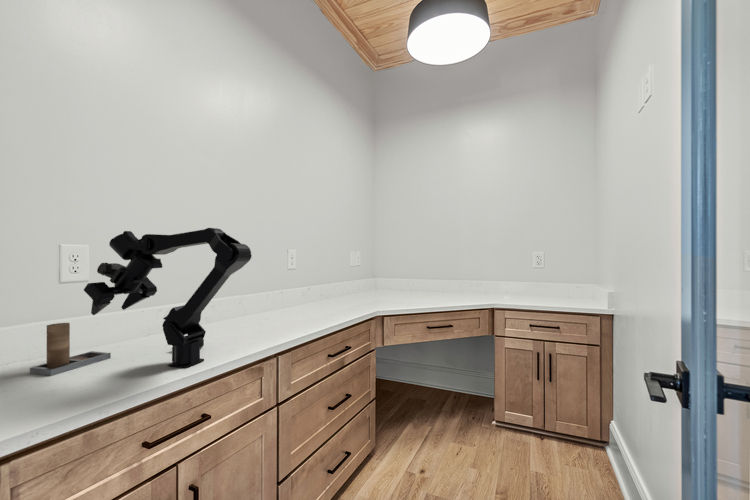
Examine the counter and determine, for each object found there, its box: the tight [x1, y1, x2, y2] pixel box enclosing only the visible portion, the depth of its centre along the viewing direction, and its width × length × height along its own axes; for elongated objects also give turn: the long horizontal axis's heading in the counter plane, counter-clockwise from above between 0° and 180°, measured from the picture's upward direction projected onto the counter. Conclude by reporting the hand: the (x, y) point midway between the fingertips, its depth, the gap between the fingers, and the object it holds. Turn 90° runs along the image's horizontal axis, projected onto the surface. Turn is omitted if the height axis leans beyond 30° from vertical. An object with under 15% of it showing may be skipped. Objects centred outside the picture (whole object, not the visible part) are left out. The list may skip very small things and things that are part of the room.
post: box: [46, 322, 71, 368], centre depth 91 cm, size 4×4×12 cm
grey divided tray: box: [29, 350, 112, 377], centre depth 94 cm, size 8×15×2 cm, turn 165°
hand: (108, 311), depth 100 cm, fingers open, 9 cm apart
